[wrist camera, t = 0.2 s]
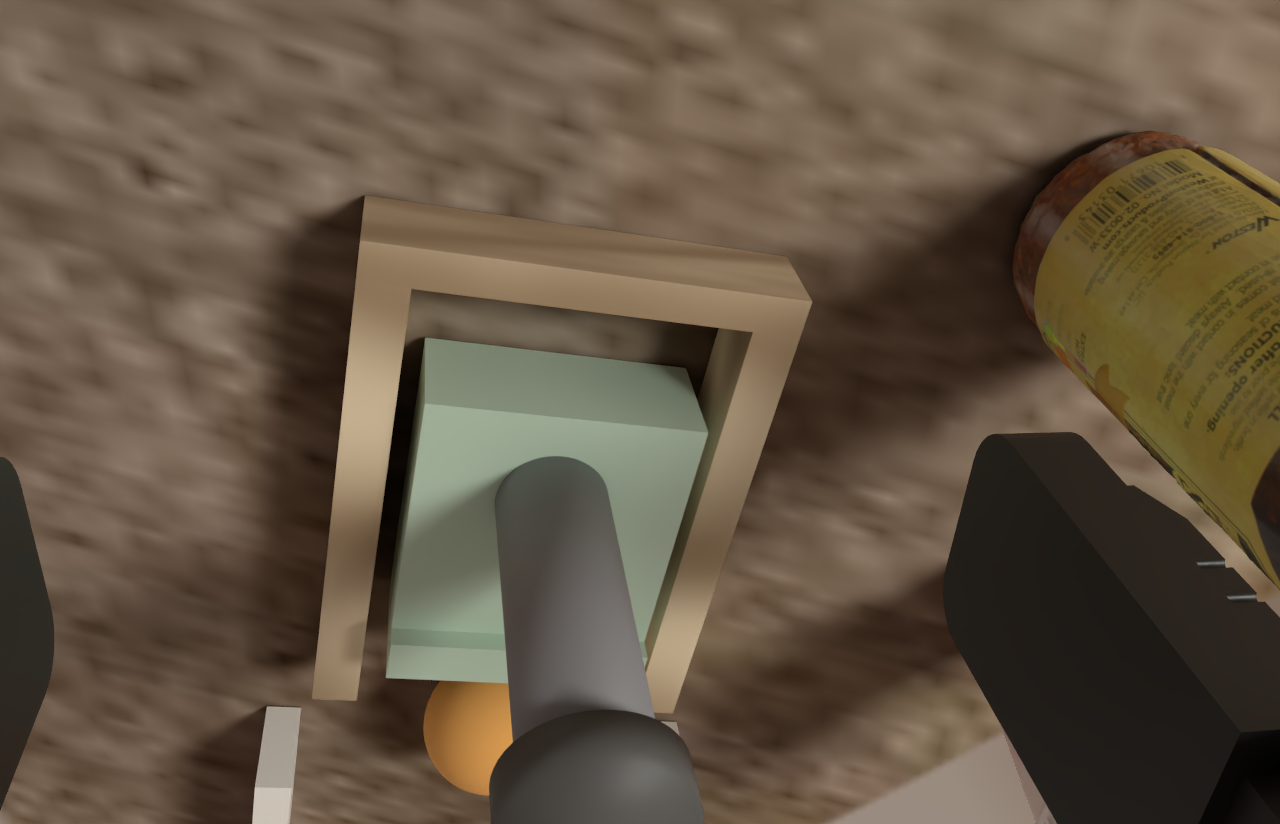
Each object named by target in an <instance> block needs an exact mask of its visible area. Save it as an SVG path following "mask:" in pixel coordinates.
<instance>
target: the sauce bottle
mask: <svg viewBox="0 0 1280 824" xmlns="http://www.w3.org/2000/svg"><path fill="white" fill-rule="evenodd" d="M1012 268H1013V280H1014V284H1015V288H1016V290H1017V292H1018V296H1019V297H1020V299H1021V301H1022V304H1023V306H1024V310H1025V312H1026V314H1027V316H1028V317H1029V318H1030V320H1031V321H1032V322H1033V323H1034V325H1035V326H1036V327H1037V328H1038V329H1039V330H1040V332H1041V335H1042V337H1043V340H1044V342H1045V343H1046V345H1047V346H1048V347H1049V348H1050V349H1051V350H1052V351H1053V353H1054V354H1055V355H1056V356H1057V357H1058V358H1059V359H1060V360H1061V361H1062V362H1063V363H1064V364H1065V365H1066V366H1067V367H1068V368H1069V369H1070V370H1071V371H1072V372H1073V373H1074V374H1075V375H1076V376H1077V377H1078V378H1079V380H1080V381H1081V382H1082V383H1083V384H1084V385H1085V386H1086V387H1087V388H1088V389H1089V390H1090V391H1091V392H1092V393H1093V394H1094V395H1095V396H1096V397H1097V398H1098V399H1099V400H1100V401H1101V402H1102V403H1103V404H1104V405H1105V406H1106V407H1107V409H1108V410H1109V411H1110V412H1111V413H1112V414H1113V415H1114V416H1115V417H1116V418H1117V419H1118V420H1119V421H1120V422H1121V423H1122V424H1123V425H1124V426H1125V427H1126V428H1127V429H1128V431H1129V432H1130V433H1131V434H1132V435H1133V436H1134V437H1135V438H1136V439H1137V440H1138V441H1139V443H1140V444H1141V445H1142V446H1143V447H1144V448H1145V449H1146V450H1147V451H1148V452H1149V453H1150V455H1151V456H1152V457H1153V458H1154V459H1156V460H1157V461H1158V462H1159V464H1161V465H1162V467H1163V468H1164V469H1165V470H1166V471H1167V472H1168V473H1169V474H1170V475H1171V476H1173V477H1174V478H1175V479H1176V481H1177V483H1178V484H1179V485H1180V486H1181V487H1182V488H1183V489H1184V490H1185V492H1186V493H1187V494H1188V495H1189V496H1190V497H1191V498H1192V499H1193V500H1194V501H1195V502H1196V503H1197V504H1198V505H1199V506H1200V507H1201V508H1202V509H1203V510H1204V512H1205V513H1206V514H1207V515H1208V516H1209V517H1210V518H1211V519H1212V520H1213V521H1215V522H1216V523H1217V524H1218V525H1219V526H1220V527H1221V528H1222V529H1223V530H1224V531H1225V532H1226V533H1227V534H1228V535H1229V537H1230V538H1231V539H1232V540H1233V541H1234V542H1235V543H1236V544H1237V545H1238V546H1239V547H1240V548H1241V549H1242V550H1243V552H1244V553H1245V554H1246V555H1247V556H1248V557H1249V559H1250V560H1251V561H1253V562H1254V564H1255V565H1256V566H1257V567H1258V568H1259V569H1260V570H1261V571H1262V572H1263V573H1264V574H1265V575H1266V576H1267V577H1268V578H1269V579H1270V580H1271V581H1272V582H1273V583H1274V584H1275V585H1276V587H1277V588H1278V589H1279V590H1280V184H1279V183H1277V182H1276V181H1274V180H1272V179H1271V178H1269V177H1267V176H1266V175H1264V174H1262V173H1261V172H1259V171H1257V170H1256V169H1254V168H1252V167H1251V166H1249V165H1247V164H1246V163H1244V162H1243V161H1241V160H1239V159H1238V158H1236V157H1234V156H1232V155H1230V154H1228V153H1226V152H1224V151H1222V150H1219V149H1216V148H1212V147H1207V146H1203V145H1200V144H1199V143H1197V142H1196V141H1193V140H1189V139H1187V138H1185V137H1180V136H1176V135H1171V134H1168V133H1161V132H1154V131H1145V132H1140V133H1134V134H1128V135H1125V136H1122V137H1118V138H1115V139H1113V140H1111V141H1110V142H1107V143H1103V144H1102V145H1100V146H1099V147H1097V148H1096V149H1094V150H1093V151H1091V152H1089V153H1087V154H1084V155H1081V156H1079V157H1078V158H1077V159H1075V160H1073V161H1072V162H1070V163H1069V164H1068V165H1067V166H1066V167H1065V168H1064V169H1063V170H1062V171H1061V172H1059V173H1058V174H1056V175H1055V176H1054V178H1053V179H1052V181H1051V182H1050V183H1049V184H1048V185H1047V186H1046V188H1045V189H1044V190H1042V191H1041V192H1040V193H1039V194H1038V195H1037V196H1036V198H1035V200H1034V202H1033V204H1032V206H1031V209H1030V211H1029V212H1028V214H1027V215H1026V217H1025V219H1024V221H1023V222H1022V223H1021V227H1020V234H1019V237H1018V240H1017V242H1016V244H1015V250H1014V258H1013V266H1012Z"/></svg>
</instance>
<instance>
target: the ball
mask: <svg viewBox="0 0 1280 824" xmlns="http://www.w3.org/2000/svg"><path fill="white" fill-rule="evenodd" d="M423 730H424V740H425V744H426V748H427V751H428V754H429V756H430V758H431V760H432V762H433V764H434V765H435V767H436V768H437V770H438V771H439V772H440V773H441V775H443V776H444V777H445V778H446V779H447V780H448V781H449V782H450V783H452V784H453V785H455V786H457V787H458V788H460V789H462V790H464V791H467V792H470V793H474V794H479V795H489V782H490V777H491V774H492V771H493V768H494V766H495V764H496V762H497V760H498V759H499V758H500V756H501V755H502V754H503V752H504V751H505V750H506V749H507V748H508V747H509V746H510V745H511V744H512V743H513V739H512V726H511V713H510V700H509V687H508V683H487V682H465V681H443V680H440V682H439V683H438V685H437V686H436V687H435V689H434V690H433V692H432V694H431V697H430V699H429V701H428V703H427V707H426V711H425V715H424V725H423Z"/></svg>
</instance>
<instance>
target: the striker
mask: <svg viewBox="0 0 1280 824" xmlns="http://www.w3.org/2000/svg"><path fill="white" fill-rule="evenodd" d="M707 436H708V430H707V427H706V424H705V421H704V419H703V416H702V413H701V410H700V407H699V404H698V401H697V399H696V396H695V393H694V390H693V387H692V384H691V382H690V379H689V376H688V373H687V370H686V368H681V367H673V366H664V365H655V364H647V363H638V362H630V361H621V360H613V359H604V358H596V357H587V356H579V355H570V354H561V353H553V352H544V351H536V350H527V349H519V348H510V347H502V346H493V345H485V344H476V343H467V342H459V341H450V340H442V339H433V338H425V342H424V349H423V356H422V363H421V370H420V377H419V384H418V390H417V397H416V404H415V411H414V418H413V425H412V432H411V439H410V446H409V453H408V460H407V467H406V474H405V481H404V488H403V495H402V502H401V509H400V516H399V522H398V529H397V536H396V543H395V550H394V561H393V568H392V575H391V582H390V588H389V612H388V637H387V662H386V678H398V679H420V680H443V681H465V682H487V683H508V687H509V700H510V713H511V726H512V739H513V743H512V744H511V745H510V746H509V747H508V748H507V749H506V750H505V751H504V752H503V754H502V755H501V756H500V758H499V759H498V760H497V762H496V764H495V766H494V768H493V771H492V774H491V777H490V782H489V798H490V816H491V824H704V813H703V807H702V803H701V799H700V795H699V790H698V786H697V782H696V777H695V773H694V769H693V765H692V760H691V756H690V753H689V750H688V748H687V746H686V744H685V743H684V741H683V740H682V738H681V737H680V736H679V735H678V734H677V733H676V732H675V731H674V730H673V729H671V728H670V727H669V726H667V725H666V724H664V723H662V722H661V721H658V720H656V719H655V715H654V710H653V705H652V700H651V696H650V691H649V686H648V681H647V676H646V672H645V665H646V662H647V659H648V657H647V652H646V648H645V643H644V641H645V638H646V635H647V631H648V628H649V625H650V622H651V618H652V615H653V612H654V609H655V605H656V602H657V599H658V596H659V592H660V589H661V586H662V583H663V579H664V576H665V573H666V570H667V566H668V563H669V560H670V557H671V553H672V550H673V547H674V543H675V540H676V537H677V534H678V530H679V527H680V524H681V521H682V517H683V514H684V511H685V508H686V504H687V501H688V498H689V495H690V491H691V488H692V485H693V482H694V478H695V475H696V472H697V468H698V465H699V462H700V459H701V455H702V452H703V449H704V446H705V442H706V439H707Z"/></svg>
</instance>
